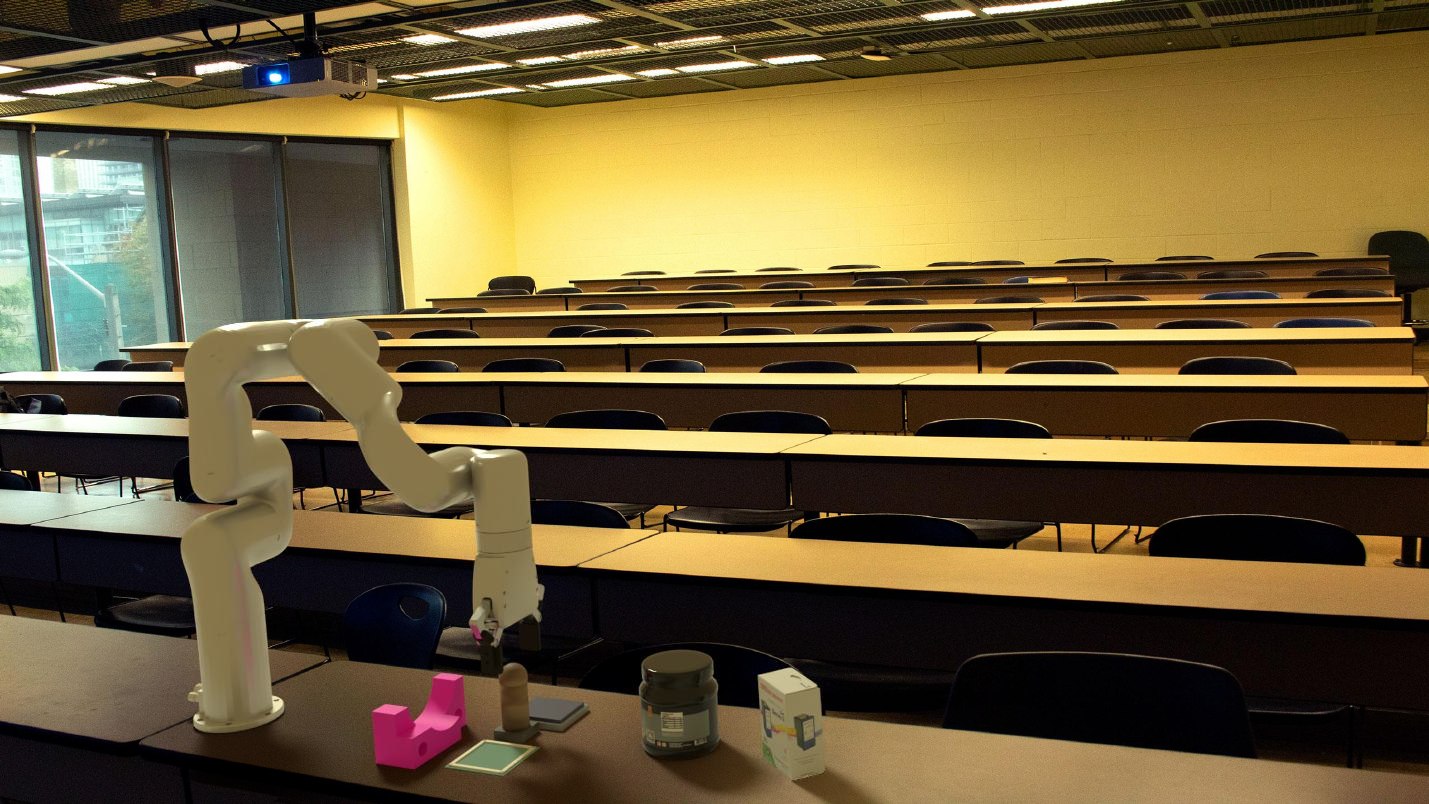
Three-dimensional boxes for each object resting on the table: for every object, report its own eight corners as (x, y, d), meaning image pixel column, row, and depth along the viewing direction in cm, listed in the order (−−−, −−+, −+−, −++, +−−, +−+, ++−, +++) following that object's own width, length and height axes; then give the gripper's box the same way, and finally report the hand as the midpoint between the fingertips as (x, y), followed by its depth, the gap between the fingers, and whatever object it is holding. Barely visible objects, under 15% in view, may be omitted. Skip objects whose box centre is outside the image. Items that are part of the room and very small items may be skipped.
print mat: (444, 768, 148) (444, 765, 148) (483, 741, 156) (483, 738, 156) (503, 777, 144) (503, 774, 144) (539, 749, 153) (539, 745, 153)
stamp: (494, 740, 156) (489, 667, 155) (511, 728, 160) (507, 656, 159) (522, 744, 155) (517, 670, 153) (539, 731, 159) (534, 659, 158)
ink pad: (507, 724, 162) (506, 714, 161) (536, 704, 169) (535, 694, 169) (561, 732, 158) (561, 721, 158) (589, 710, 166) (588, 701, 165)
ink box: (826, 777, 141) (823, 686, 140) (789, 786, 139) (786, 693, 138) (794, 751, 149) (792, 665, 148) (759, 759, 147) (756, 672, 146)
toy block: (414, 771, 148) (410, 717, 147) (376, 765, 150) (372, 711, 150) (480, 727, 162) (477, 677, 161) (444, 722, 164) (441, 672, 163)
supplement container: (698, 725, 159) (694, 643, 157) (734, 752, 149) (730, 664, 148) (629, 742, 154) (625, 657, 153) (662, 771, 145) (657, 680, 143)
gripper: (514, 525, 164) (521, 639, 166) (444, 554, 148) (452, 680, 150) (559, 527, 161) (566, 643, 163) (492, 557, 145) (501, 685, 147)
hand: (512, 661), depth 156 cm, fingers open, 9 cm apart
